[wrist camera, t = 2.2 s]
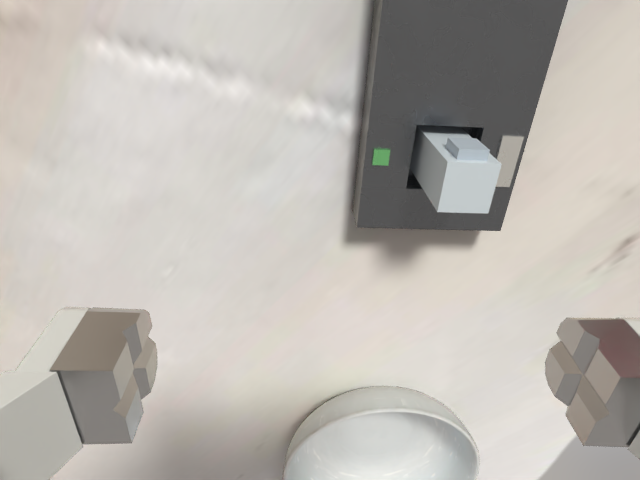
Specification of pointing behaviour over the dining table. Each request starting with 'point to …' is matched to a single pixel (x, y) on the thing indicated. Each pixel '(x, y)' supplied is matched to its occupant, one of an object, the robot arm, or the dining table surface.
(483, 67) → the panel
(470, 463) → the serving bowl
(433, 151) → the plug
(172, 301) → the dining table surface
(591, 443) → the robot arm
